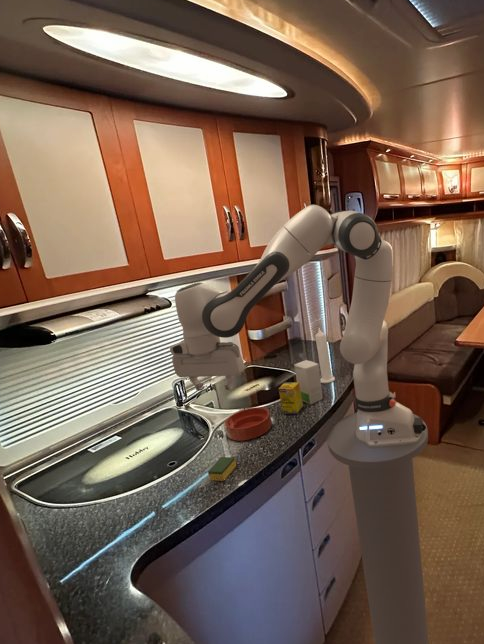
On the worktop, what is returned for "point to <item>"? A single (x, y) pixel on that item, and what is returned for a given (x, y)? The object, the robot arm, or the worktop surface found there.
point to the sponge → (222, 468)
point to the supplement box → (291, 398)
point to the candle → (323, 357)
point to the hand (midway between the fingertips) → (214, 389)
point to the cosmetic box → (309, 381)
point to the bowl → (248, 423)
